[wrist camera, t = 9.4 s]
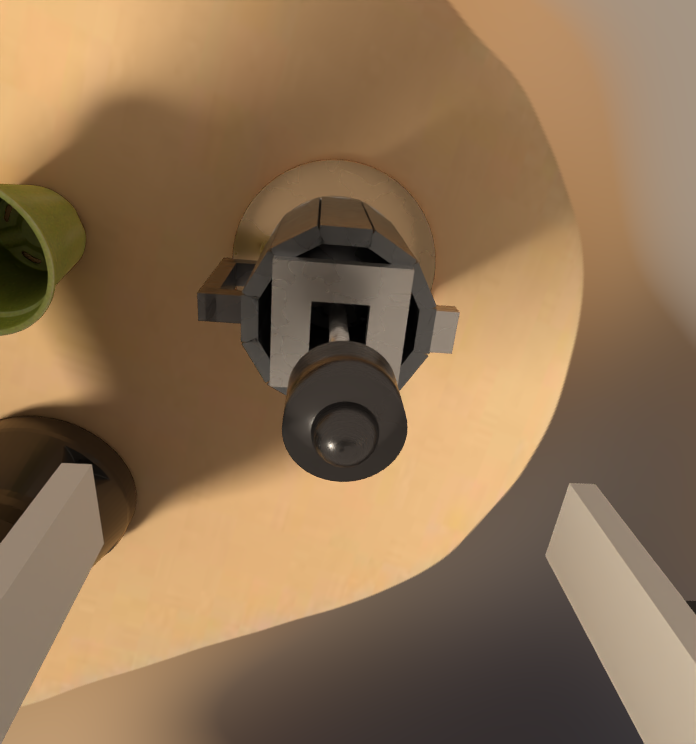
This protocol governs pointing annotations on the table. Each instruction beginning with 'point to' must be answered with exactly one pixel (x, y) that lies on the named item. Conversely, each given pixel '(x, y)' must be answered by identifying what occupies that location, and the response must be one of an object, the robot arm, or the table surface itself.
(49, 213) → the plant pot
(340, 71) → the table surface
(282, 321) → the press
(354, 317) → the plunger
